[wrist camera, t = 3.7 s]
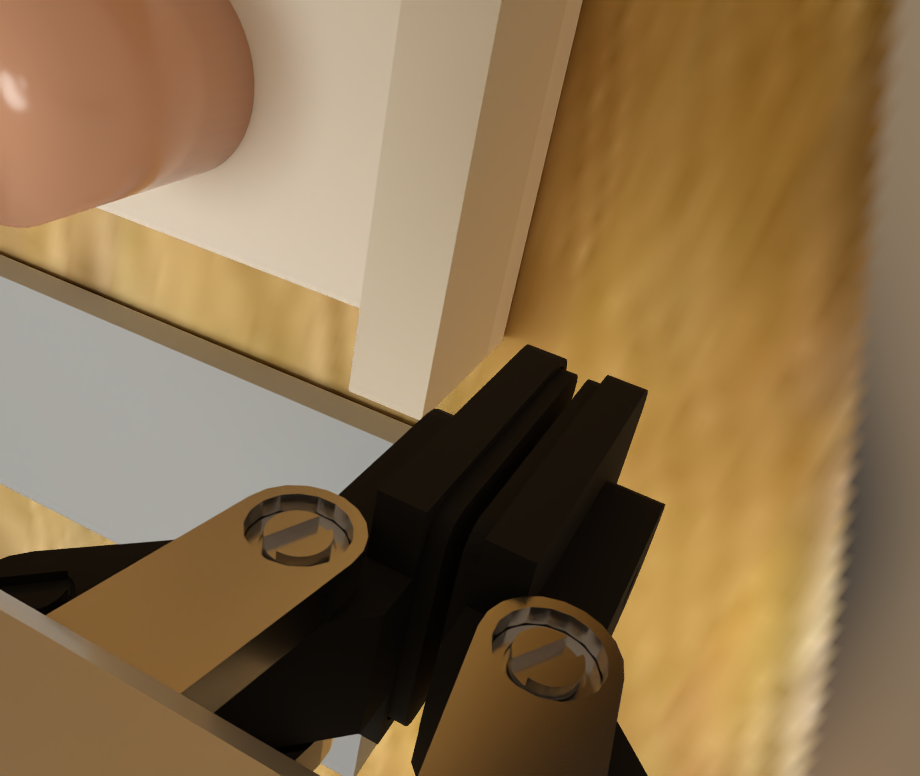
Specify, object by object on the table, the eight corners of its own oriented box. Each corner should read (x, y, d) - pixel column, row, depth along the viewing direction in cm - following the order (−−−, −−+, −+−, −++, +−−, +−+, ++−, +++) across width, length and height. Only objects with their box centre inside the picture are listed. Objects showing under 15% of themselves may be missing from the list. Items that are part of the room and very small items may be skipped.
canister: (76, -77, 23) (-141, -85, 18) (261, -27, 22) (78, -21, 17) (85, 142, 26) (-98, 185, 22) (248, 200, 25) (90, 261, 20)
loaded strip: (-57, -197, 25) (-251, -228, 21) (593, -44, 20) (509, -43, 15) (-20, 144, 30) (-170, 176, 26) (502, 340, 25) (421, 421, 20)
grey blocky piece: (-9, 250, 32) (-146, 295, 28) (475, 453, 27) (397, 547, 22) (14, 464, 37) (-99, 530, 33) (424, 670, 32) (352, 781, 28)
